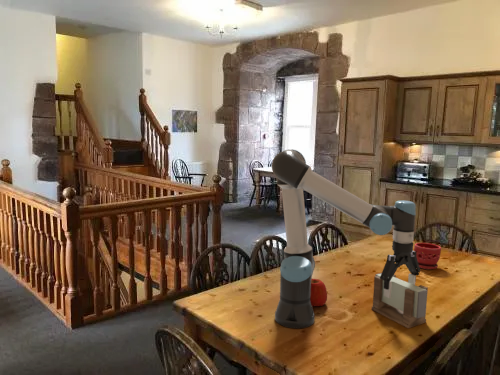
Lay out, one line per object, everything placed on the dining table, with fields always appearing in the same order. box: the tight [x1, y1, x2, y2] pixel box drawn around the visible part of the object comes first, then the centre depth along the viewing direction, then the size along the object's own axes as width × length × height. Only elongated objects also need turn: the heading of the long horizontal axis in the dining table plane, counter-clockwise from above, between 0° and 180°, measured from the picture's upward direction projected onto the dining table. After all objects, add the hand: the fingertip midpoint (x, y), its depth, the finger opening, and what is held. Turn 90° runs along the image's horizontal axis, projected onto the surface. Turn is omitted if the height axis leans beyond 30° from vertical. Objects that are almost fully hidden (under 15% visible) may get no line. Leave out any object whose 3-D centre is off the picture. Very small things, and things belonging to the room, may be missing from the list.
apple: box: [310, 278, 328, 307], centre depth 171 cm, size 11×11×11 cm
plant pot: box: [413, 242, 442, 270], centre depth 219 cm, size 13×13×12 cm
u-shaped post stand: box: [371, 274, 429, 329], centre depth 160 cm, size 10×18×14 cm, turn 30°
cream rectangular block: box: [374, 272, 429, 318], centre depth 160 cm, size 4×21×10 cm, turn 30°
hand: (399, 293), depth 160 cm, fingers open, 13 cm apart
